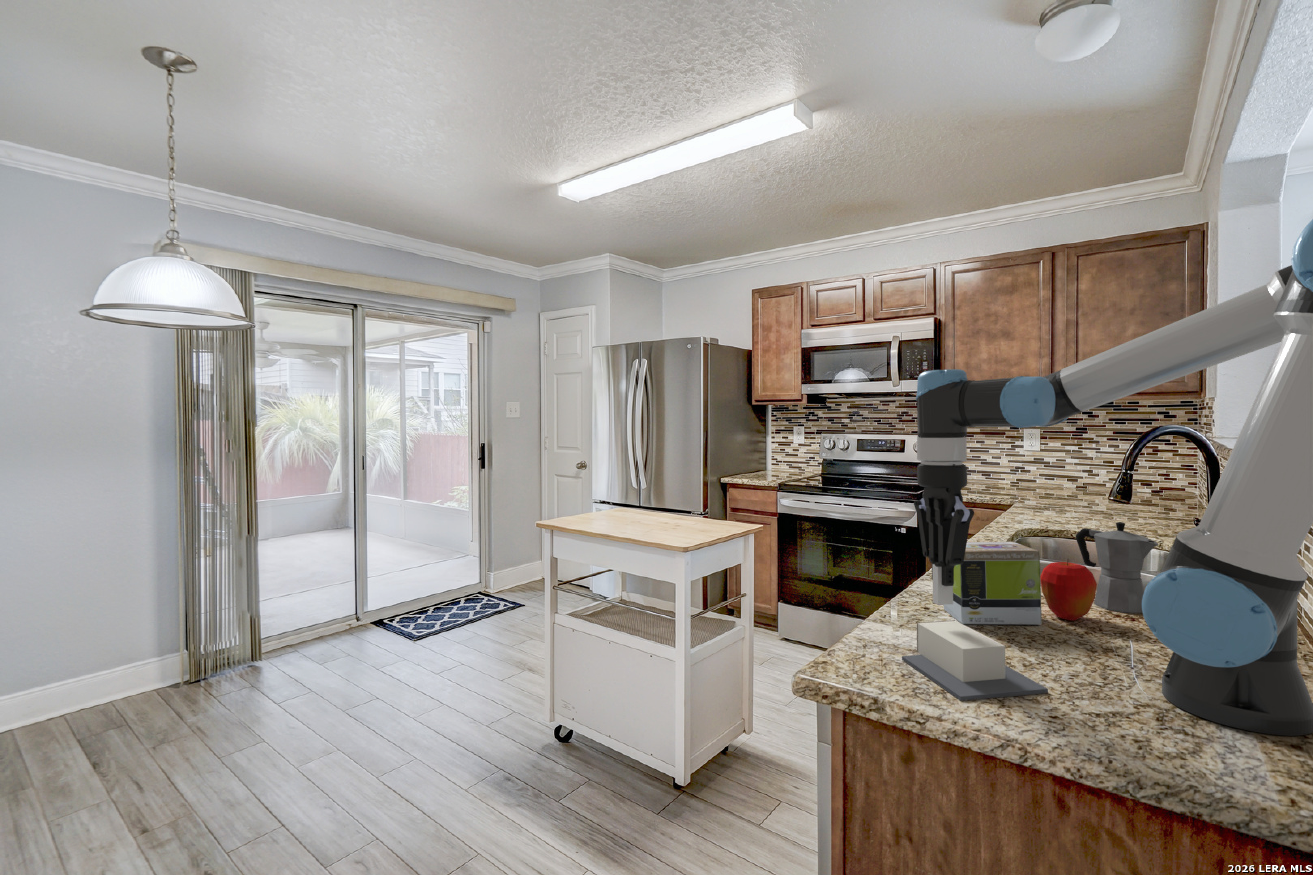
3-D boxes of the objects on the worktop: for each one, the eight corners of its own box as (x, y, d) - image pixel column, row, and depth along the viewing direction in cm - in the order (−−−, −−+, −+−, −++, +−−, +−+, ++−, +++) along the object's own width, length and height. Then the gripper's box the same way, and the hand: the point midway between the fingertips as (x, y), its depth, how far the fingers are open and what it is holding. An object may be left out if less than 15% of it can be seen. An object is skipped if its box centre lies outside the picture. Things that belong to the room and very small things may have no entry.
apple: (1101, 617, 119) (1101, 558, 119) (1090, 628, 113) (1090, 565, 112) (1047, 607, 126) (1047, 551, 125) (1034, 617, 120) (1034, 558, 119)
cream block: (954, 649, 102) (1005, 678, 90) (917, 651, 101) (963, 682, 89) (954, 620, 102) (1005, 645, 90) (916, 622, 101) (963, 649, 89)
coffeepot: (1169, 612, 122) (1170, 524, 121) (1144, 619, 118) (1144, 529, 117) (1088, 593, 136) (1088, 514, 135) (1063, 599, 132) (1063, 518, 131)
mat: (1048, 692, 87) (1048, 688, 87) (960, 700, 85) (960, 696, 85) (977, 653, 101) (977, 650, 101) (901, 659, 99) (901, 656, 99)
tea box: (1016, 610, 124) (1016, 540, 124) (1042, 627, 114) (1042, 550, 114) (941, 609, 126) (941, 539, 125) (960, 625, 116) (960, 550, 115)
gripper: (989, 464, 93) (990, 614, 94) (938, 460, 106) (939, 591, 107) (945, 466, 92) (946, 617, 93) (899, 461, 105) (900, 593, 105)
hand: (942, 603), depth 100 cm, fingers closed
